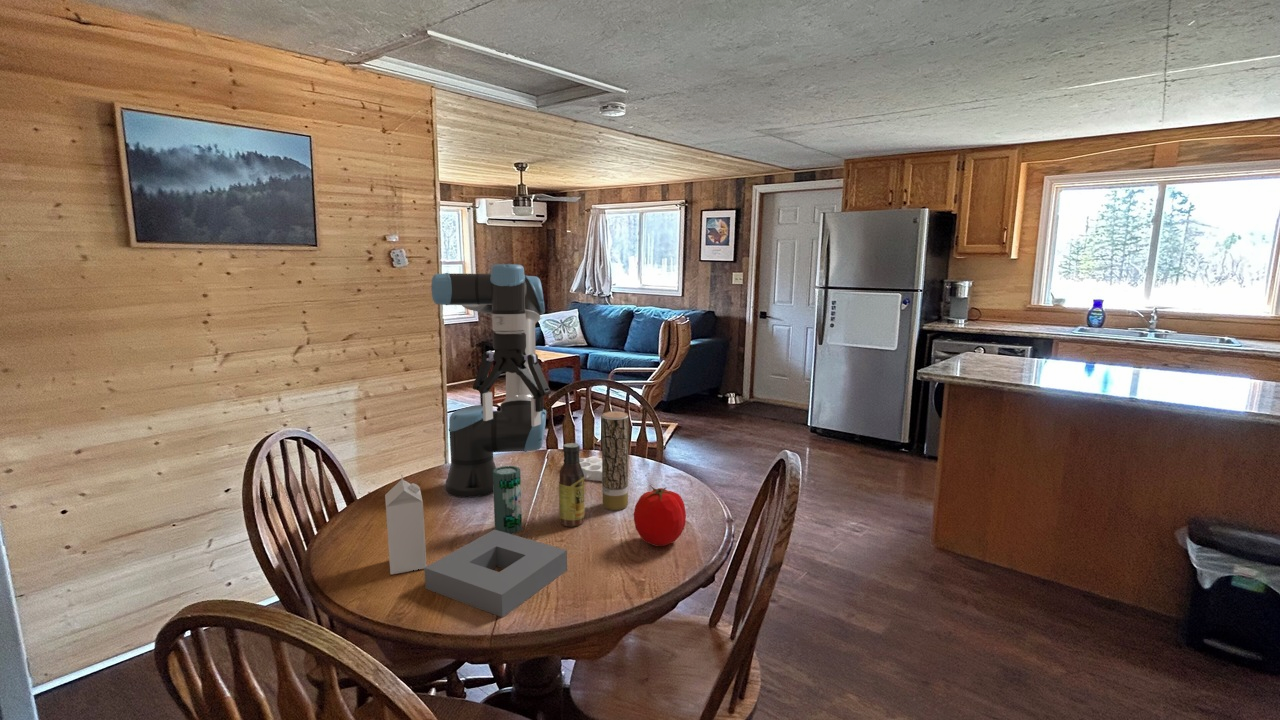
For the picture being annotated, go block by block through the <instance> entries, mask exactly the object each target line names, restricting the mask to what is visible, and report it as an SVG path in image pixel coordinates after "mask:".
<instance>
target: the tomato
mask: <svg viewBox="0 0 1280 720" xmlns="http://www.w3.org/2000/svg"><path fill="white" fill-rule="evenodd" d="M667 487H668V486H665V487H664V488H663V487H659V488H655V487H653V486H652V485H650V488H651V489H652V490H651V491H646V492H644V493H643V494H642V495H640V497H639V499H638V500H637V502H636V504H635V505H634V510H633V522H634V526H635V530H636V532H637V533H638V535H639V537H640V538H641V539H642V540H643V541H644V542H646V543H648V544H650V545H653V546H655V547H661V546H667V545H669V544H672V543H674V542H675V541H676V540H677V539H678V538H680V536H681V535H682V534H683V532H684V530H685V527H686V523H687V522H686V519H687V514H686V513H687V512H686V506H685V502H684V501H683V499H682V497H681V496H680V495H679V493H677V492H675V491H672V490H668V489H667Z"/></svg>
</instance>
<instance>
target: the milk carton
mask: <svg viewBox="0 0 1280 720" xmlns="http://www.w3.org/2000/svg"><path fill="white" fill-rule="evenodd" d="M400 475H401V478H400V480H399V481H398V482H397V483H396V484H395V485H394V486H392V488H391V489H390V490H389V491H388V492H387V493H385V495H384V498H385V499H384V500H385V514H386V527H387V528H386V529H387V542H388V543H387V544H388V559H389V560H388V561H389V574H390V575H397V574H403V573H408V572H413V570H414V571H418V569H419V570H424V568H425V567H427V553H426V552H427V551H426V537H425V536H426V535H425V519H424V517H425V516H424V515H425V514H424V503H423V502H424V501H423V497H422V492H421V487H420V486H419V485H418V484H416V483H414V482H412V483H409V481H406V480H404V477H403V474H400Z"/></svg>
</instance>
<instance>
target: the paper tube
mask: <svg viewBox="0 0 1280 720" xmlns="http://www.w3.org/2000/svg"><path fill="white" fill-rule="evenodd" d="M601 415H602V416H601V446H602V447H601V457H602V481H601V483H602V485H601V487H602V490H601V491H602V506H603V508H605V509H606V510H610V511H620V510H624V509H625V508H627V507H628V505H629V414H628V413H626V412H623V411H617V410H616V411H606V412H603V413H602V414H601Z"/></svg>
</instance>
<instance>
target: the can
mask: <svg viewBox="0 0 1280 720" xmlns="http://www.w3.org/2000/svg"><path fill="white" fill-rule="evenodd" d="M521 481H522V480H521V468H520V467H518V466H514V465H502V466H499V467H496V469H494V470H493V512H494V514H493V515H494V530H498V531H502V532H505V533H509V534H512V535H516V534H518V533H519V532H521V531H522V530H523V529H522V528H523V522H522V519H523V518H522V489H521V488H522V486H521V485H522V483H521Z"/></svg>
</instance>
